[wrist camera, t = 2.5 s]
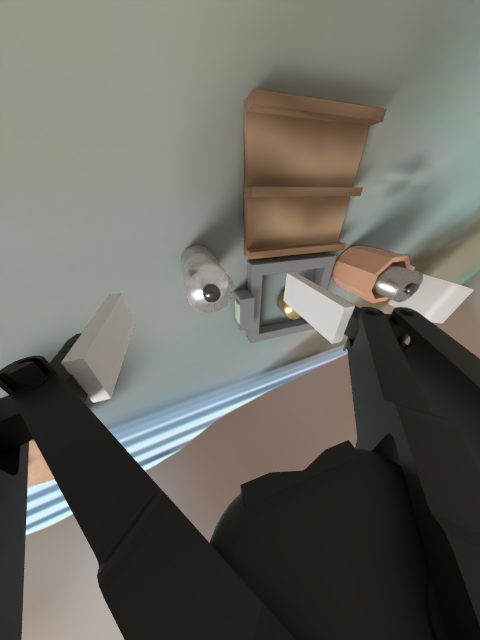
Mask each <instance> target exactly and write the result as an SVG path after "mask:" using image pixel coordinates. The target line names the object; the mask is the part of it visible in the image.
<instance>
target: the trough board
mask: <svg viewBox="0 0 480 640" xmlns="http://www.w3.org/2000/svg"><path fill="white" fill-rule="evenodd" d="M385 113H386V109H383V108H376V107H370V106H363V105H357V104H350V103H344V102H337V101H331V100H324V99H318V98H312V97H305V96H299V95H292V94H286V93H279V92H273V91H266V90H260V89H253V91H252V92H251V93H250V95H249V96H248V97H247V99H246V100H245V101H244V255H245V256H246V257H248V258H249V259H258V258H268V257H278V256H288V255H298V254H308V253H318V252H328V251H338V250H344V248H345V245H346V244H345V243H341V242H338V239H339V235H340V232H341V228H342V225H343V221H344V217H345V214H346V210H347V207H348V203H349V199H350V196H360V195H361V192H362V189H363V188H353V185H354V181H355V178H356V174H357V170H358V167H359V163H360V160H361V156H362V152H363V149H364V145H365V142H366V138H367V134H368V131H369V127H370V126H371V125H374V124H376V123H379V122H382V121H383V119H384V116H385Z"/></svg>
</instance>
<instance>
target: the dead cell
mask: <svg viewBox="0 0 480 640" xmlns="http://www.w3.org/2000/svg"><path fill="white" fill-rule="evenodd" d="M422 280H423V274H422V273H420V272H417V271H413V270H410V269H406V268H403V267H399V266H396V265H392V264H390V265H389V266H388V267H387V268H386V269H385V270H384V271H383V272H381V273H380V274H379V275H378V277H377V279H376V282H375V284H374V286H373V288H372V291H373V292H376V293H378V294H380V295H382V296H385V297H387V298H389V299H391V300H393V301H396V302H403V301H405V300H407V299H408V298H410V297H411V296H412V295H413V294H414V293H415V292H416V291H417V290H418V288H419V287H420V285H421V283H422Z"/></svg>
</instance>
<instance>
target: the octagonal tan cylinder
mask: <svg viewBox="0 0 480 640" xmlns="http://www.w3.org/2000/svg"><path fill="white" fill-rule="evenodd" d="M390 264H392V265H396V266H399V267H403V268H406V269H410V270H411V265H410V261H409V256H407V255H403V254H398V253H394V252H390V251H385V250H381V249H377V248H372V247H368V246H352V247H350V248H348V249H346V250H345V251H344V252H343V253H342V254H341V255H340V256H339V257H338V259H337V260H336V262H335V264H334V267H333V270H332V278H333V280H334V282H335V283H337V284H338V286H340V287H342V288H343V289H345V290H347V291H349V292H351V293H353V294H355V295H357V296H359V297H361V298H363V299H365V300H367V301H369V302H371V303H376V302H381V301H386V300H387V299H388V298H387V297H385V296H382V295H380V294H378V293H376V292H373V291H372V288H373V286H374V284H375V282H376V279H377V277H378V275H379V274H380V273H381V272H383V271H384V270H385V269H386V268H387V267H388V266H389V265H390Z"/></svg>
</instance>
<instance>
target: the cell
mask: <svg viewBox="0 0 480 640" xmlns="http://www.w3.org/2000/svg"><path fill="white" fill-rule="evenodd" d="M181 265H182V271H183V278H184V284H185V291H186V296H187V299H188V301H189V303H190V304H191V305H192V306H193V307H194V308H195V309H197V310H199V311H202V312H216V311H219V310H221V309H222V308H224V307H225V306H226V305H227V304H228V303H229V302H230V300H231V299H232V296H233V292H234V286H233V282H232V280H231V278H230V277H229V275H228V274H227V273H226V271H225V270H224V269H223V267H222V266H221V265H220V264H219V262H218V261H217V260H216V258H215V257H214V256H213V254H212V253H211V252H210V251H209V250H208V249H207V248H206V247H204V246H201V245H193V246H190V247H188V248H187V249H186V250H185V251H184V252H183V254H182V257H181Z"/></svg>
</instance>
